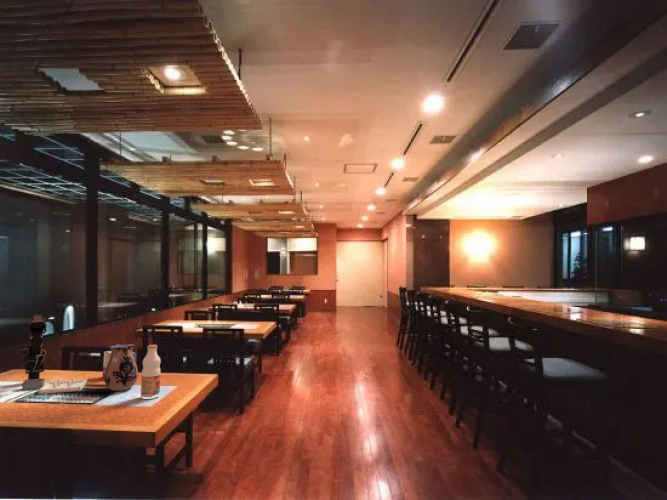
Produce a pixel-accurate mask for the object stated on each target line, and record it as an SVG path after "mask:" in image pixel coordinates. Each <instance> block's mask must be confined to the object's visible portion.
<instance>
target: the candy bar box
mask: <svg viewBox="0 0 667 500" xmlns="http://www.w3.org/2000/svg"><path fill="white" fill-rule="evenodd" d="M110 356H111V350H107V351H104V352H103V363H102V364H103V365H102V378H103V377H104V374H105V370H106V367H107V364H108V362H109V359H110Z"/></svg>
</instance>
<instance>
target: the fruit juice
mask: <svg viewBox="0 0 667 500" xmlns="http://www.w3.org/2000/svg"><path fill="white" fill-rule="evenodd" d="M146 347H147V353H146V354H145V357H144V358H143V359H142V370H141V379H140V380H141V382H140V384H141V385H140V398H141V397H152V396H155V395H158V394H159V393H160V391H161V390H160V389H161V367H160V365H161V362H162V360H161V357H160V356H159V355H158V352H157V350H158V345H157V344H149V345H147V346H146ZM159 395H160V394H159Z"/></svg>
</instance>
